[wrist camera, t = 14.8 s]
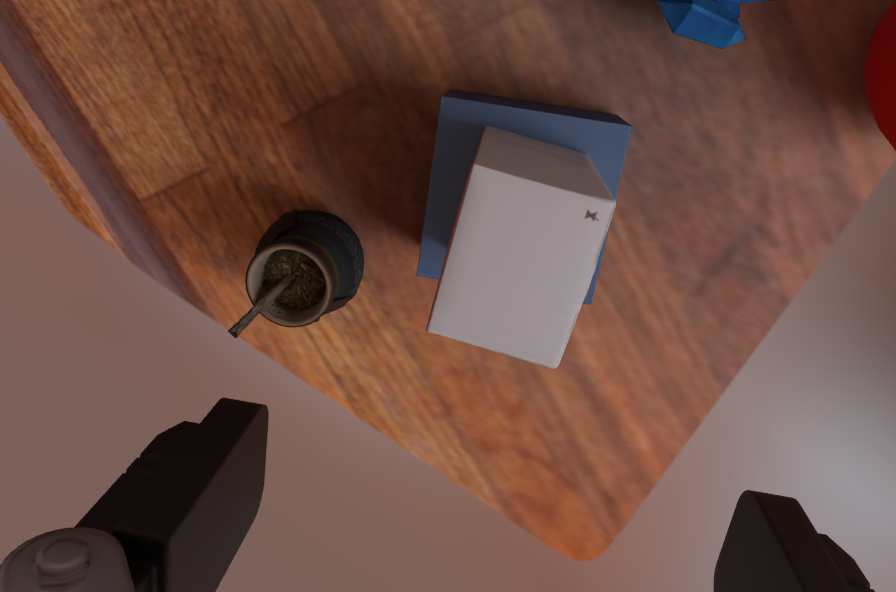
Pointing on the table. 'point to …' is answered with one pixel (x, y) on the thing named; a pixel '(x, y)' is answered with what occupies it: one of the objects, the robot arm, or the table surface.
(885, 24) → the tomato
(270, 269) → the mate gourd
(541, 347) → the small box
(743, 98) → the table surface
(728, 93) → the table surface
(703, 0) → the crystal
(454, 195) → the blue square block
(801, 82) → the table surface
